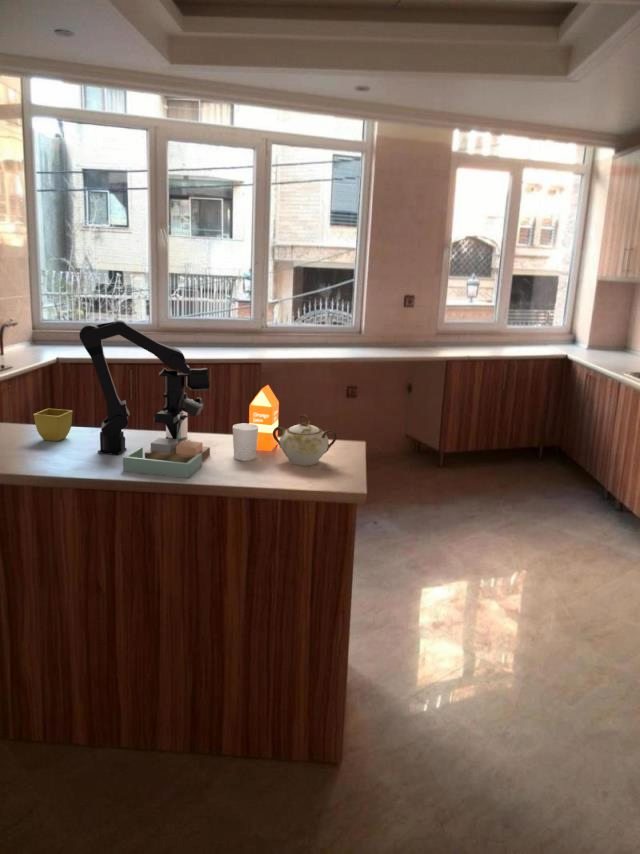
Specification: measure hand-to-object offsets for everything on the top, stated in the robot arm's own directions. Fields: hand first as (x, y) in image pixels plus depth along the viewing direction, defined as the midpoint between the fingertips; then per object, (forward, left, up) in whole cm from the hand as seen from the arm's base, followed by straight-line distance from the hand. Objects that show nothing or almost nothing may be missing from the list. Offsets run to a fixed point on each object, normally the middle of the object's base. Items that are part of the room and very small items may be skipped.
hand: (175, 438), depth 208 cm
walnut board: (+4, -7, -4) cm, 9 cm away
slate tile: (0, -8, -1) cm, 9 cm away
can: (-5, +14, -4) cm, 15 cm away
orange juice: (+25, +14, -4) cm, 29 cm away
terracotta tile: (+8, -8, -1) cm, 12 cm away
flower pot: (-40, -2, -4) cm, 40 cm away
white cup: (+23, 0, -4) cm, 23 cm away
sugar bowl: (+41, +2, -4) cm, 41 cm away
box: (+4, -18, -4) cm, 19 cm away
